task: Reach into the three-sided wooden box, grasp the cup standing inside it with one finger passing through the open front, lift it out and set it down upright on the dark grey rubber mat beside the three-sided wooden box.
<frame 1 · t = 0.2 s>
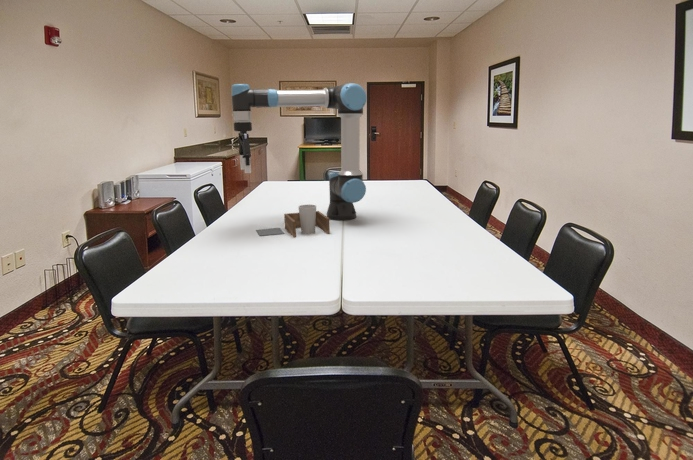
hand: (245, 171, 208), 28 cm above the table, fingers open, 13 cm apart
three-sided wooden box: (307, 231, 215), on the table
mat: (270, 232, 215), on the table
cup: (308, 232, 213), on the table
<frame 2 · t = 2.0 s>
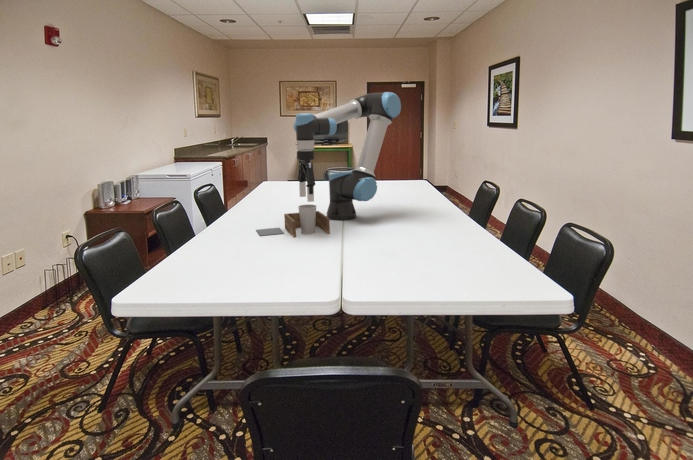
hand: (306, 199, 209), 15 cm above the table, fingers open, 13 cm apart
nothing on the table moved.
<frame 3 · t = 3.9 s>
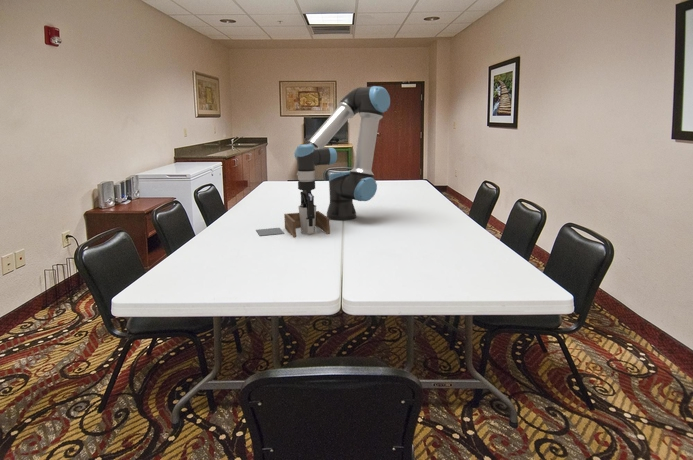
hand: (308, 231, 213), 1 cm above the table, fingers closed on cup, 7 cm apart
cup: (308, 232, 213), on the table, touching gripper
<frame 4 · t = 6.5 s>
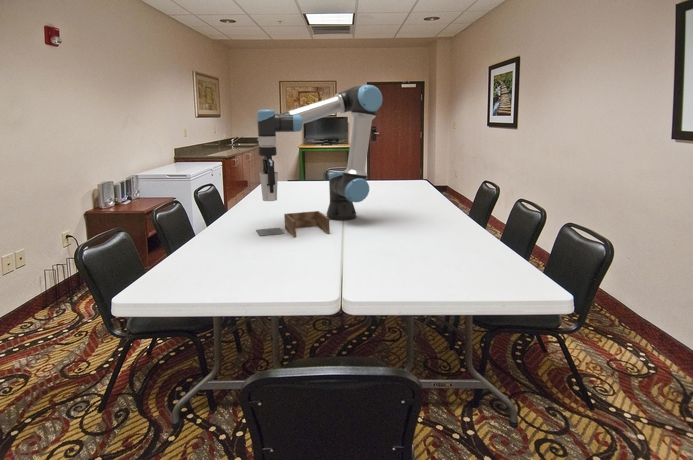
hand: (269, 198, 211), 15 cm above the table, fingers closed on cup, 7 cm apart
cup: (269, 200, 211), point 15 cm above the table, touching gripper
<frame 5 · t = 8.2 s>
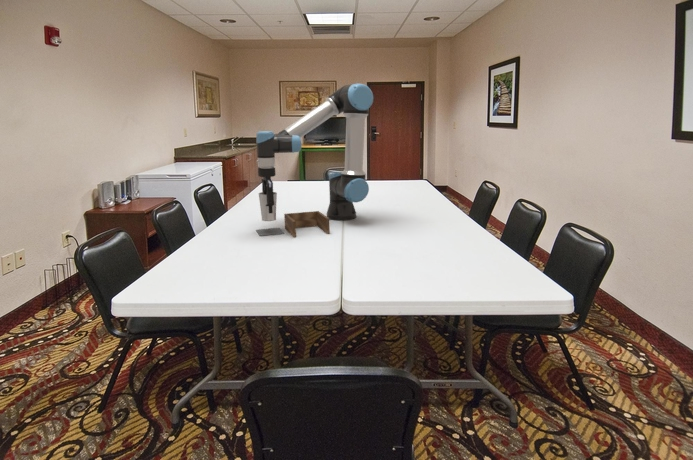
hand: (268, 218, 213), 6 cm above the table, fingers closed on cup, 7 cm apart
cup: (268, 220, 213), point 6 cm above the table, touching gripper
when the fingers open (2 cm above the table, at t = 9.5 s): cup drops 1 cm, resting on mat.
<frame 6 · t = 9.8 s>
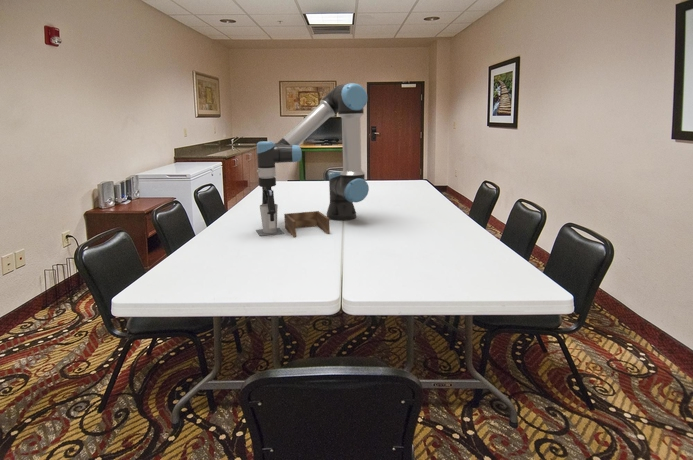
hand: (269, 225, 214), 3 cm above the table, fingers open, 12 cm apart
cup: (270, 231, 215), resting on mat
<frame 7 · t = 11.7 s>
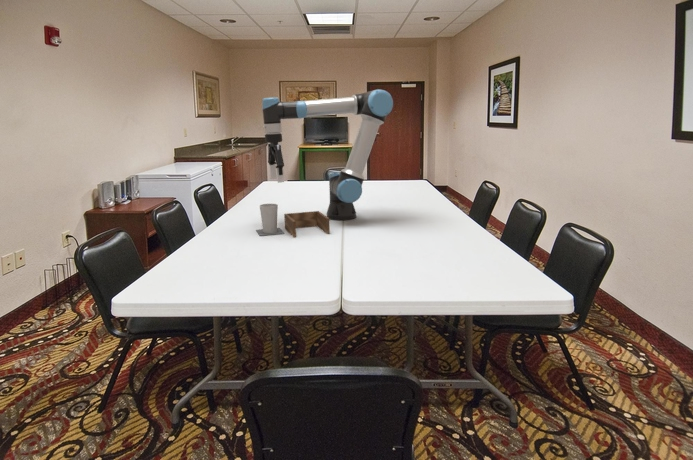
hand: (277, 180, 218), 22 cm above the table, fingers open, 13 cm apart
nothing on the table moved.
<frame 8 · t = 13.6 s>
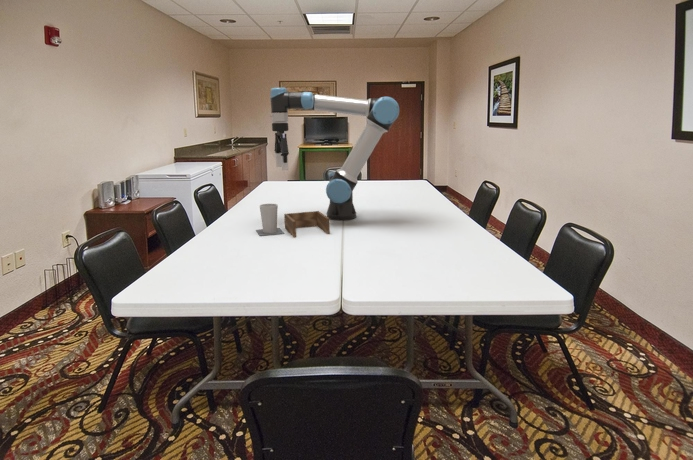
hand: (282, 168, 225), 27 cm above the table, fingers open, 13 cm apart
nothing on the table moved.
at the end: cup inside the target area on the mat (0.0 cm from its centre), point 0.2 cm above the mat's base; cup tilted 0°; the gripper is holding nothing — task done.
